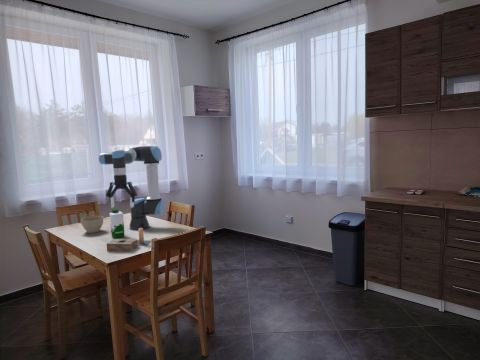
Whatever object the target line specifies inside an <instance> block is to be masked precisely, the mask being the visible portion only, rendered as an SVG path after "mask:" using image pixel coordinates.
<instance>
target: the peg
mask: <svg viewBox="0 0 480 360" xmlns="http://www.w3.org/2000/svg"><path fill="white" fill-rule="evenodd" d="M144 234H145V233H144V229H143V228H139V230H138V240H139V243H140V244H143V243H144V240H145V237H144Z"/></svg>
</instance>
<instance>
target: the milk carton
mask: <svg viewBox="0 0 480 360" xmlns="http://www.w3.org/2000/svg"><path fill="white" fill-rule="evenodd" d="M111 211H112V212H109V223H110V232H111V233H110V234H111V237H112V238H113V240H114V239H123V238H125V222H124V221H125V220H124V212H122V211H119V209H117V208H115V209H112V210H111Z"/></svg>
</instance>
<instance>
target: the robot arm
mask: <svg viewBox="0 0 480 360" xmlns="http://www.w3.org/2000/svg"><path fill="white" fill-rule="evenodd" d="M162 157H163V156H162V151H161V148H160V147H159V146H156V145H147V146H146V145H145V146H143V145H142V146H136V147H135V146H134V147H131V148H127V149H125V150H123V149H117V150H115V149H114V150H113V151H112V152H103V153H100V154H99V155H98V162H99V164H100V165H105V166H106V165H112V168H113V169H112V170H113V181H110V182H109V187H108V189H107V192H106V197H108V198H109V200H108V201H109V202H110V208H114V207H115V197H114V195H115V194H116V192H117V191H118V190H125V192H126V193H127V194H128V195H129V196H130V199H129V201H130V202H129V208H130V223H129V230H132V231H139V228H143V230H144V229H147V228H149V227H150V223H149V221H148V218H147V216H148V215H149V216H150V215H151V216H157V215H158V216H159V215H162V214H163V212H164V209H165V200H164V199H162V196H161V195H160V187H159V185H160V184H159V172H158V171H159V169H158V165H159V164H160V162H161V161H162ZM134 162H143V165H145V170H146V182H147V185H146V186H147V197H146V198H145V197H141V198H136V199H135V197H137V196H138V193H137V192H136V189H135V188H134V186H133V183H132V181H127V169H126V165H128V164H129V165H130V164H133V163H134ZM114 186H115V187H114Z"/></svg>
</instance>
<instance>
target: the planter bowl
mask: <svg viewBox="0 0 480 360" xmlns="http://www.w3.org/2000/svg"><path fill="white" fill-rule="evenodd" d="M80 221H81V226H82V227H83V229H84V230H85V232H86V233H88V234H94V233H98V232H100V231H101V228H102V226H103V225H104V216H102V215H91V216H85V217H82V218H81V219H80Z"/></svg>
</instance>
